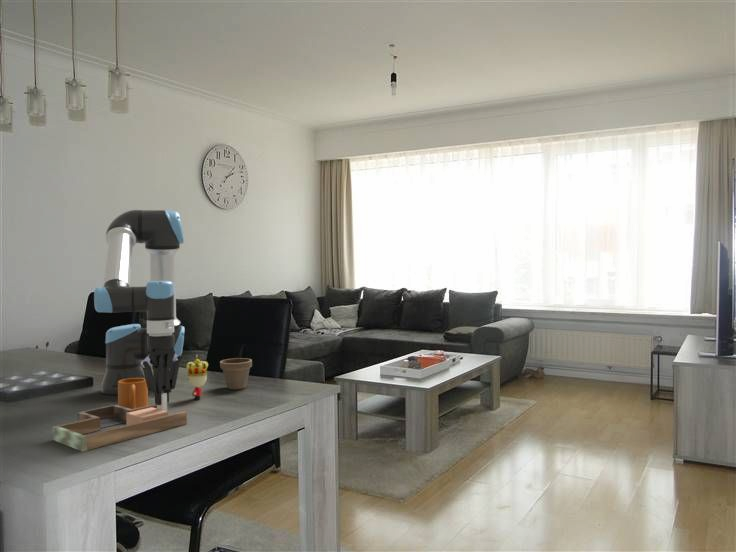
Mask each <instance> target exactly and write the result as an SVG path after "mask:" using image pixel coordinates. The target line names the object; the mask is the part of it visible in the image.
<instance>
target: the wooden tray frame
mask: <svg viewBox="0 0 736 552" xmlns="http://www.w3.org/2000/svg"><path fill="white" fill-rule="evenodd" d="M150 407H153V408H156V409H157V405H156V404H155V403H154V404H148V406H144V407H140V408H135V409H129V408H126V407H122V406H119V405H118V404H112V405H106V406H100V407H97V408H92V409H91V408H90V409H87V410H83V411H78V412H77V414H76V415H77V416H76V417H77V419H76V420H77V421H72V422H69V423H64V424H60V425H55V426H52V440H53V441H54V442H57V443H60V444H62V445H65V446H67V447H70V448H73V449H75V450H76V451H80V452H82V453H83V452H87V451H90V450H93V449H97V448H102V447H105V446H108V445H113V444H117V443H120V442H124V441H128V440H131V439H136V438H139V437H143V436H147V435H151V434H154V433H158V432H162V431H166V430H170V429H174V428H177V427H181V426H184V425H185V426H186V425H187V424H188V417H187V415H188V413H187V411H185V410H184V411H180V412H176V413H172V414H171V413H170V414H168V415H167V416H163V417H158V418H154V419H150V420H146V421H142V422H138V423H134V424H130V425H127V423H126V413H129V412H133V411H137V410H142V409H146V408H150ZM121 424H126V425H123V426H118V427H114V428H110V429H106V430H102V431H101V429H105V428H109V427H113V426H117V425H121ZM93 432H94V433H93Z"/></svg>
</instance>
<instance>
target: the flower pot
mask: <svg viewBox="0 0 736 552" xmlns="http://www.w3.org/2000/svg"><path fill="white" fill-rule="evenodd" d="M219 366H220V367H219V368H220V369H221V370H222V372H223V377H224V380H225V383H226V386H227V388H228V390H241V389H245V388H246V387H247V384H248V380H249V373H250V370H251V368H252V367H253V359H251V358H247V357H244V358H243V357H239V358H238V357H236V358H227V359H222V360H220V361H219Z"/></svg>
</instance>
